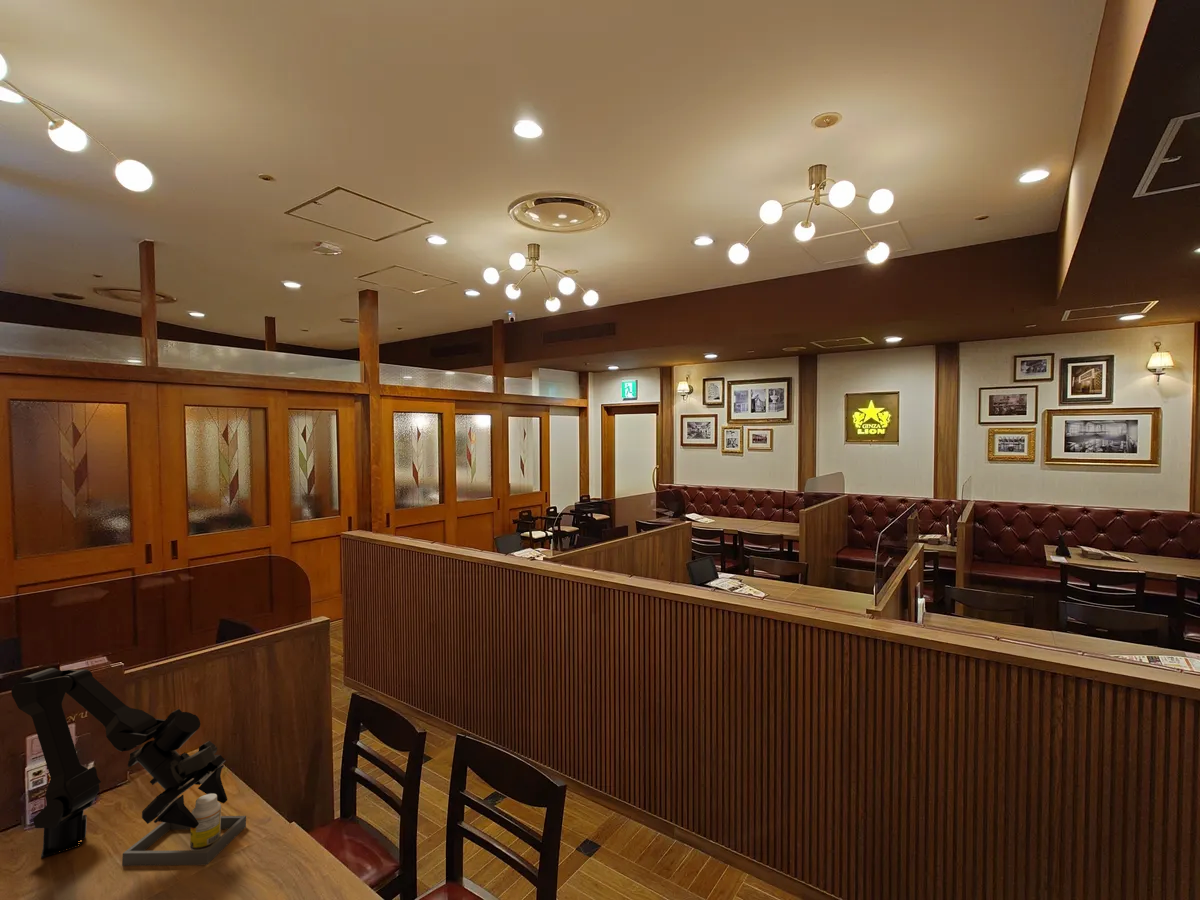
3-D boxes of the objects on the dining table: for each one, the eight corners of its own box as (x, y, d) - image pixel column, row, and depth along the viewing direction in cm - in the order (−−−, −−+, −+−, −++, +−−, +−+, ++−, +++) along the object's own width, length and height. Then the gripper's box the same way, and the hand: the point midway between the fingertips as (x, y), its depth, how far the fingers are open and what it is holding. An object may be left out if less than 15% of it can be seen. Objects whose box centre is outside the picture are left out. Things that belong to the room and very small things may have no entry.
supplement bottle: (195, 840, 126) (197, 793, 127) (223, 835, 128) (225, 789, 128) (185, 855, 121) (186, 807, 121) (215, 850, 122) (216, 802, 123)
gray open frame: (122, 865, 118) (122, 853, 118) (169, 827, 131) (170, 816, 131) (206, 864, 118) (207, 852, 118) (245, 826, 131) (246, 815, 131)
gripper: (157, 757, 116) (208, 811, 116) (218, 719, 135) (263, 765, 134) (118, 797, 116) (169, 851, 115) (185, 753, 135) (229, 799, 134)
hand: (211, 813), depth 125 cm, fingers open, 9 cm apart
